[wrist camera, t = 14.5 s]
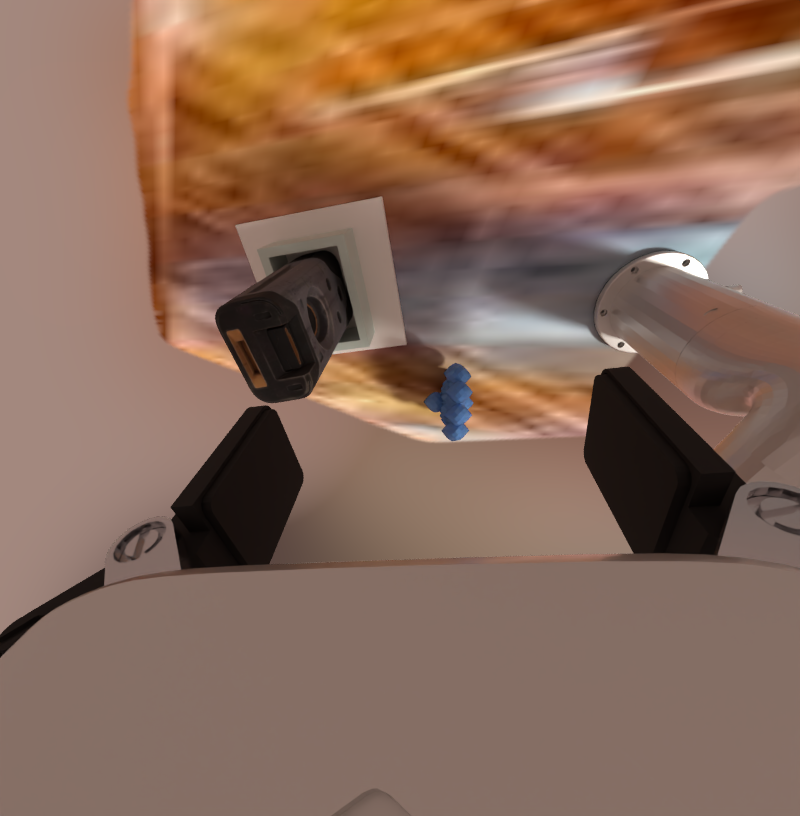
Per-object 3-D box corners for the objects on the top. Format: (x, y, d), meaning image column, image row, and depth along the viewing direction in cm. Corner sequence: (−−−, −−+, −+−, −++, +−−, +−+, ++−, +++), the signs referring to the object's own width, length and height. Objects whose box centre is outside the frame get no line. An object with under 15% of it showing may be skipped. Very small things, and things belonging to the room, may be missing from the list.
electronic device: (356, 319, 48) (317, 398, 31) (316, 327, 49) (257, 408, 32) (334, 246, 43) (273, 293, 26) (289, 257, 44) (204, 309, 27)
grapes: (425, 344, 50) (423, 387, 40) (473, 345, 50) (484, 388, 40) (423, 411, 57) (421, 463, 47) (466, 413, 56) (473, 465, 46)
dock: (382, 196, 40) (375, 199, 35) (406, 341, 50) (404, 360, 45) (238, 224, 43) (213, 231, 38) (288, 357, 53) (273, 376, 48)
